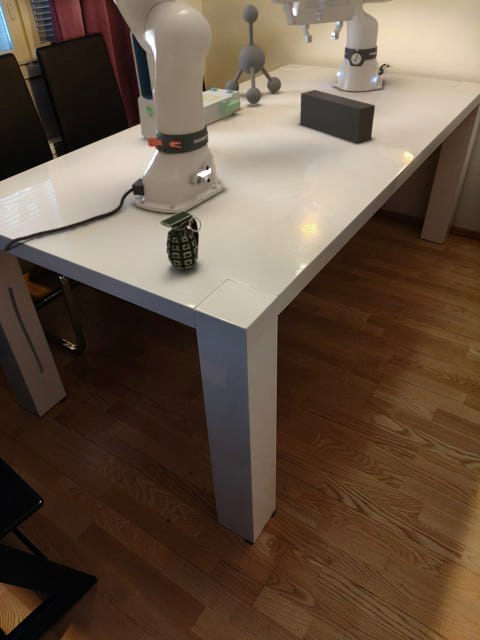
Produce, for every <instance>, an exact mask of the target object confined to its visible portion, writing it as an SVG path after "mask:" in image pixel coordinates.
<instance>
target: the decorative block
mask: <svg viewBox="0 0 480 640" xmlns="http://www.w3.org/2000/svg"><path fill="white" fill-rule="evenodd" d="M203 106H204V119H205V125H206V126H207V125H210V124H212V123H215V122H217V121H219V120H221V119H224V118H226V117H228V116H230V115H233V114H235V111H238V110H240V109H241V92H240V90H239V91H232V90H225V88H224V89H222V88H216V87H212V88H211V89H208V90H205V91H203Z"/></svg>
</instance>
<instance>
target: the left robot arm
mask: <svg viewBox="0 0 480 640" xmlns="http://www.w3.org/2000/svg"><path fill="white" fill-rule="evenodd" d="M270 1H271V3H272V4H273V5H282V9H283V12H284V14H285V16H286V25H287V26H296V25H295V24H296V16H294V15H293V12H292V9H291V8H293V2H298V1H304V0H270ZM113 2H114V4H115V5H116V7H117V8H118V10H119V12H120V14H121V16H122V18H123V19H124V21H125V23H126V24H127V26H128V27H129V29H130V32H131V31H132V32H133V34H134V36H135V37H136V39H137V41H138V42H139V44H140V45H141V47H142V48H143V49H144V50H145V51H146V52H147V53H149V54H150V55H152V56H154V57H155V65H156V72H155V87H154V90H153V101H154V108H155V114H156V121H157V128H158V129H157V130H156V138H152V137H150V138H149V139H147V146H149V147H151V148H152V147H154V148H155V151H154V153H153V155H152V157H151V159H150V162H149V163H148V165H147V167H146V169H145V172H144V173H143V176H142V178H138V179H137V180H136V181H134V182H133V183H132V184H131V188H129V189H128V190H127V191H125V193H124V194H123V195H122V196H121V198H120V201H119V204H118V206H117V207H116V208H114V209H112V210H111V211H109V212H106V213H102V214H98V215H95V216H92V217H90V218H86V219H84V220H80V221H78V222H74V223H71V224H68V225H64V226H60V227H56V228H51V229H47V230H43V231H38V232H35V233H32V234H28V235H23V236H19V237H16V238H13V239H11V240H10V241H8V242H7V243H6V244H5V246H4V248H3V250H2V252H3V253H5V252H8V251H9V250H10V248H11V246H13V245H14V244H16V243H18V242H23V241H27V240H30V239H33V238H37V237H42V236H46V235H49V234H55V233H59V232H63V231H66V230H70V229H73V228H76V227H79V226H80V227H81V226H83V225H86V224H89V223H91V222H94V221H97V220H100V219H103V218H107V217H110V216H113V215H114V214H116V213H118V212H119V211H120V210H121V209H122V207H123V206H124V202H125V200H126V198H127V197H128V196H129V195H130V194H132V195H133V196H137V197H135V199H134V205H135V206H137V207H138V208H140V209H142V210H143V209H144V210H147V211H151V212H157V213H164V214H177V213H179V212H181V211H184V212H187V211H189V210H190V209H193V208H194V207H196V206H198V205H199V204H201V203H203V202H205V201H207V200H208V199H210V198H212V197H214V196H215V195H217V194H219V193H220V192H222V191H223V185H222V184H220V183H219V180H218V174H217V168H216V163H215V156H214V155H213V153H212V152H211V149H210V147H209V145H208V143H209V130H208V126H207V125H205V119H204V106H203V92H204V91H203V89H204V88H203V87H204V86H203V84H204V74H205V67H206V59H207V56H208V55H209V52H210V50H211V47H212V43H213V42H212V41H213V34H212V28H211V26H210V23H209V21H208V19H207V18H206V17H205V16H204V15H203V14H202V13H201V11H199V10H198V9H197V8H196V7H194V6H193V5H190V4H189V3H185V2H181V1H177V0H113ZM319 2H321V3H320V6H319V9H318V11H316V20H322V19H324V18H325V11H326V8H327V6H328V3H329V0H319ZM7 290H8V294H9V295H8V296H9V298H10V302H11V304H12V307H13V311H14V313H15V316H16V318H17V322H18V323H19V326H20V329H21V330H22V332H23V335H24V337H25V339H26V341H27V343H28V346H29V348H30V350H31V352H32V354H33V356H34V359H35V361H36V364H37V366H38V367H37V368H38V369H39V372H40V373H41V374H44V373H45V370H44V368H43V365H42V363H41V360H40V357H39V355H38V353H37V350H36V348H35V346H34V343H33V341H32V339H31V337H30V335H29V333H28V330H27V328H26V326H25V323H24V321H23V319H22V316H21V314H20V311H19V308H18V305H17V302H16V298H15V295H14V290H13V287H9V286H7Z"/></svg>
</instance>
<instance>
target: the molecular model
mask: <svg viewBox="0 0 480 640" xmlns="http://www.w3.org/2000/svg"><path fill="white" fill-rule="evenodd" d="M258 18H259V10H258V8H257V7H256V6H255V5H253V4H248V5H246V6H245V7H244V8H243V10H242V19H243V20H244V22H246V23H247V24H248V44H246V45H245V46H243V47H242V48H241V50H240V52H239V55H238V64H239V67H240V68H239V69H238V71H237V73H236V75H235V76H234V79H229V80H227V81H226V83H225V86H224V87H225V88H224V90H232V91H240V84H239V83H238V82H239V79H240V78H241V76H242V74H243V72H244V73H246V74H248V75H250V88H249V89H248V90H247V91H246V92H245V98H246V101H247V102H248V103H250V104H251V105H255V104H258V103H259V102H260V101H261V99H262V92H261V90H260V89H259V88H258V87H256V74H258V73H260V72H262V74H263V75H264V76H265V79H266V80H267V82H266V88H267V89H268V91H269V92H271V93H277V92H279V91H280V89H281V88H282V81H281V80H280V78H279V77H277V76H271V75H270V74H269V72H268V71H267V70H266V68H265V67H264V66H265V64H266V55H265V52H264V49H262V47H260V46H259V45H258V44H255V43H254V23H256V21H258Z"/></svg>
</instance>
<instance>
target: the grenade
mask: <svg viewBox="0 0 480 640" xmlns="http://www.w3.org/2000/svg"><path fill="white" fill-rule="evenodd" d="M198 222H199V226H198ZM159 224H160V225H162V226H164V227H166V228H169V230H168V231H167V236H166V254H167V259H168V261H169V263H170V265H171V266H172V267H174V268H176V269H178V270H181V271H186V270H189V269H192V267H194V266H195V265H196V264H197V262H198V261H197V260H198V259H199V243H200V241H199V240H200V233H199V232H200V231H201V228H202V221H201V220H200V219H199V218H198V217H197V216H194V215H193V214H192V213H189V212H187V211H185V212H184V211H181V212H179V213H174V214H172V215H170V216H169V217H166V218H165V219H162V220H160V222H159ZM198 227H199V228H198Z"/></svg>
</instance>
